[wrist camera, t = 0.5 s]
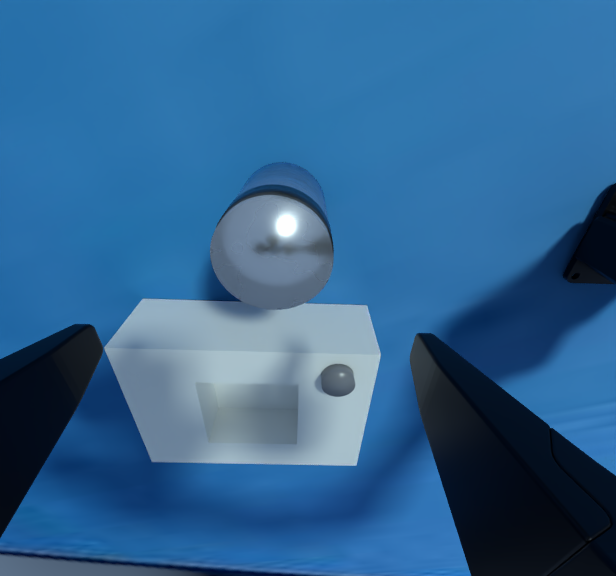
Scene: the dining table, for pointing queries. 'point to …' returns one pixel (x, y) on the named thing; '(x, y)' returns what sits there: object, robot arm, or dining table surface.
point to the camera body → (247, 380)
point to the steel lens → (274, 239)
